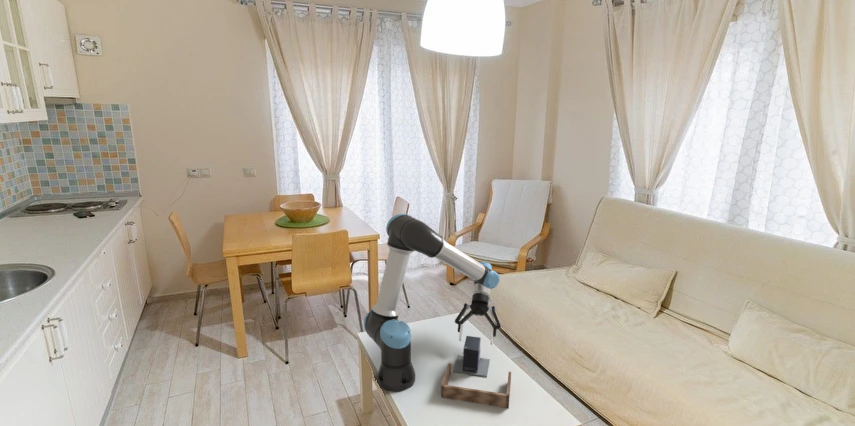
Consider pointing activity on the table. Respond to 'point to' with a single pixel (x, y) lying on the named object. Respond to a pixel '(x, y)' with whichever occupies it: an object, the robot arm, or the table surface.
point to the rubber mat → (481, 372)
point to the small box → (471, 354)
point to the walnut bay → (474, 393)
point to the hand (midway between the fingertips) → (475, 342)
